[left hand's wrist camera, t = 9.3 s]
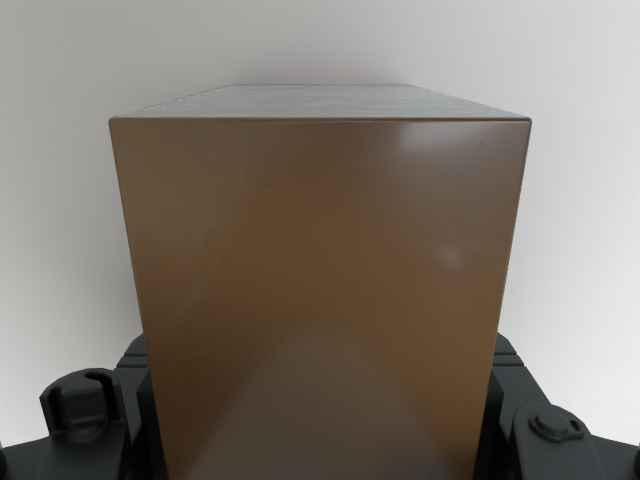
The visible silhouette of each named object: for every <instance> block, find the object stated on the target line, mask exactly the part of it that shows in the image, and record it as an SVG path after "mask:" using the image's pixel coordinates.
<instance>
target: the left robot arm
mask: <svg viewBox="0 0 640 480" xmlns="http://www.w3.org/2000/svg"><path fill="white" fill-rule="evenodd" d="M39 399H40V402H41V406H42V409H43V413H44V417H45V420H46V424H47V427H48V431H49V437H45V438H42V439H39V440H35V441H31V442H26V443H22V444H18V445H13V446H9V447H5V448H2V445H1V442H0V480H168V478H167V472H166V466H165V460H164V454H163V448H162V442H161V436H160V430H159V424H158V418H157V412H156V406H155V400H154V393H153V387H152V381H151V375H150V369H149V363H148V357H147V351H146V345H145V339H144V333H143V334H142V335H140V336H139V337H137V338H136V339H135V340H133V341H132V343H131V344H130V346H129V347H128V349H127V350H126V352H125V353H124V357H122V358H121V359H120V361H119V362H118V364H117V367H116V368H114V370H113V371H112V370H108V369H104V368H88V369H84V370H80V371H76V372H72V373H70V374H68V375H66V376H64V377H61V378H59V379H58V380H56V381H55V382H53V383H52V384H51V385H49V386H48V387H47V388H46V389H45V390H44V392H43V393H42V394H41V396H40V397H39ZM473 480H640V443H639V446H635V445H630V444H626V443H622V442H618V441H613V440H609V439H605V438H601V437H598V436H595V435H591V433H590V432H589V430H588V429H587V427H586V426H585V424H584V423H583V422H582V421H581V420H580V419H578V418H577V417H576V416H575V415H574V414H572V413H570V412H569V411H567V410H565V409H563V408H561V407H559V406H555V405H552V404H551V403H550V402H549V400H548V399H547V397H546V396H545V394H544V393H543V391H542V390H541V388H540V387H539V385H538V384H537V382H536V381H535V379H534V378H533V376H532V375H531V373H530V372H529V370H528V369H527V367H524V363H523V361H522V360H521V359H520V357H519V356H518V355H517V353H516V351H515V350H514V348H513V347H512V345H511V344H510V342H509V341H508V339H506V338H505V337H504V336H502V335H501V334H500V333H498V332H497V336H496V342H495V348H494V354H493V360H492V366H491V372H490V378H489V385H488V391H487V397H486V403H485V409H484V415H483V421H482V427H481V433H480V439H479V445H478V451H477V457H476V463H475V469H474V475H473Z"/></svg>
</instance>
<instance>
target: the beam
mask: <svg viewBox="0 0 640 480" xmlns="http://www.w3.org/2000/svg"><path fill="white" fill-rule="evenodd" d="M531 126H532V119H531V118H529V117H526V116H522V115H518V114H515V113H511V112H507V111H504V110H500V109H496V108H493V107H489V106H485V105H481V104H478V103H474V102H470V101H467V100H463V99H459V98H456V97H452V96H448V95H445V94H441V93H437V92H434V91H430V90H426V89H422V88H419V87H415V86H411V85H229V86H225V87H221V88H218V89H214V90H210V91H207V92H203V93H199V94H196V95H192V96H188V97H185V98H181V99H177V100H174V101H170V102H166V103H163V104H159V105H155V106H152V107H148V108H144V109H141V110H137V111H133V112H130V113H126V114H122V115H119V116H115V117H112V118H110V119H109V128H110V134H111V140H112V146H113V152H114V158H115V164H116V170H117V176H118V182H119V188H120V194H121V200H122V206H123V212H124V218H125V224H126V231H127V237H128V243H129V249H130V255H131V261H132V267H133V273H134V279H135V285H136V291H137V297H138V303H139V309H140V315H141V321H142V327H143V333H144V339H145V345H146V351H147V357H148V363H149V369H150V375H151V381H152V387H153V393H154V400H155V406H156V412H157V418H158V424H159V430H160V436H161V442H162V448H163V454H164V460H165V466H166V472H167V478H168V480H473V475H474V469H475V463H476V457H477V451H478V445H479V439H480V433H481V427H482V421H483V415H484V409H485V403H486V397H487V391H488V385H489V378H490V372H491V366H492V360H493V354H494V348H495V342H496V336H497V330H498V324H499V318H500V312H501V306H502V300H503V294H504V288H505V282H506V276H507V270H508V264H509V258H510V252H511V246H512V240H513V234H514V228H515V222H516V216H517V210H518V204H519V198H520V192H521V186H522V180H523V174H524V168H525V162H526V156H527V150H528V144H529V138H530V132H531Z"/></svg>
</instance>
